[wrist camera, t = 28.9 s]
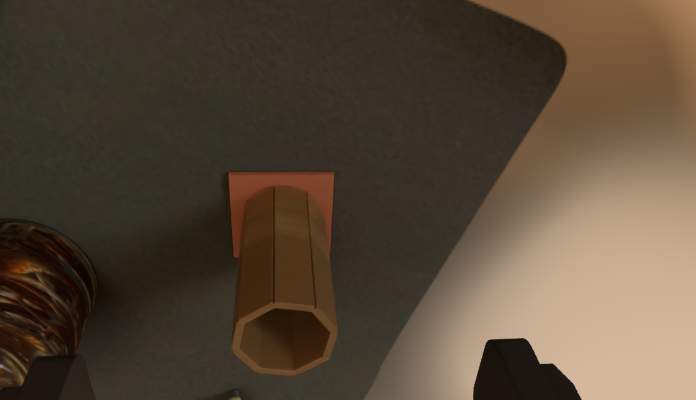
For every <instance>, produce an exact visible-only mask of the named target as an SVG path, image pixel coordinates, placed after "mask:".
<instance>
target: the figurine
mask: <svg viewBox="0 0 696 400" xmlns="http://www.w3.org/2000/svg"><path fill="white" fill-rule="evenodd" d="M229 400H241V398H240V392H239V391H238V390H233V391H231V393H230V399H229Z"/></svg>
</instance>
